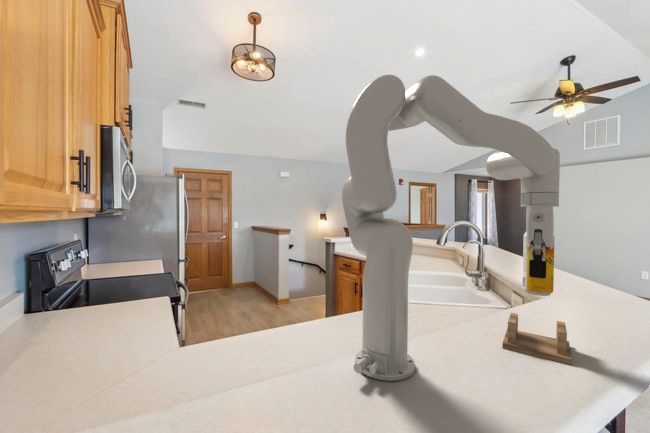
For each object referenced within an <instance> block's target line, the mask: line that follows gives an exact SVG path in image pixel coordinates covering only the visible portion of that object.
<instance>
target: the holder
mask: <svg viewBox="0 0 650 433" xmlns="http://www.w3.org/2000/svg"><path fill="white" fill-rule="evenodd" d="M508 317H509V318H508V321H507V329H506V331H505V335H504V338H503V341H502V346H501V348H502V349H506V350H509V351H513V352H518V353H521V354H525V355H529V356H532V357H533V356H534V357H537V358H543V359H546V360H550V361H554V362H558V363H563V364H566V365H570V366H572V365H573V358H572V352H571V347H570V341H568V331H567V326H566V322H565V321H561V320H560V321H559V320H556V334H555V336H556V338H554V337H550V336H546V335H540V334H535V333H531V332H526V331H521V330H519V314H518V313H515V312H510V315H509V316H508Z"/></svg>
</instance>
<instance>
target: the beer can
mask: <svg viewBox="0 0 650 433" xmlns="http://www.w3.org/2000/svg"><path fill="white" fill-rule="evenodd" d="M522 238H523V240H522V241H523V244H522V245H523V247H522V248H523V249H522V250H523V251H522V289H523V290H524V292H525V293H527V294H530V295H534V296H540V297H549V296H551V294H552V293H554V276H555V273H554V272H555V270H554V269H555V234H553V248H552V249H550V247H546V245H545V261H546V278H545V279H543V278H534V277H530V276H529V260H531V248H529V247H528V245H527V234H526V231H525V232H524V233H523V237H522ZM541 238H542V231H541ZM530 245H531V242H530ZM530 247H531V246H530ZM533 247H534V245H533ZM541 247H543V245H541Z"/></svg>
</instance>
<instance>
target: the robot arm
mask: <svg viewBox="0 0 650 433" xmlns="http://www.w3.org/2000/svg"><path fill="white" fill-rule="evenodd" d="M424 122H426V123H427V124H428V125H429V126H431V127H433V128H435V130H437V131H438V132H439V133H441V134H442V135H443V136H445V137H446V138H447V139H449V141H451V142H452V143H454V145H455V144H456V145H459V146H463V147H464V146H465V147H471V148H486V149H492V150H496V151H495V152H493V153H492V154H490V156H489V157H488V158H487V160H486V161H485V162H486V163H485V170H486V172H487V174H488V175H489V176H490V177H492V178H493V179H495V180H498V181H510V180H518V179H520V207H522V208H523V207H524V208H526V210H525V212H526V213H525V224H526V225H525V229H526V230H525V232H526V234H527V245H528V247H529V248H531V260H529V276H530V277H534V278H543V279H545V278H546V261H545V245H546V247H550V249H552V248H553V235H554V220H555V218H554V217H555V216H554V208H555V207H557V208H558V207H559V208H560V204H559V203H560V176H561V175H560V172H561V171H560V170H561V153H560V151H559V150H558V149H557V148H554V147H553V146H552V145H551V144H550V142H549V141H548V140H547V139H546V138H545V137H544V136H542V135H541V134H540V133H539V132H537V131H536V130H535V129H533V128H532V127H531V126H529V125H527V124H526V123H523V122H520V121H519V120H515V119H511V118H509V117H505V116H502V115H498V114H493V113H490V112H489V113H488V112H486V111H484V110H482V109H481V108H480V107H479V106H478V105H476V104H475V103H473V102H472V101H471V100H469V98H467V97H466V96H465V95H464V94H462V92H460V91H459V90H458V89H456V88H455V87H454V86H452V85H451V84H450V83H449V82H448V81H447V80H445V79H443V78H442V77H441V76H438V75H433V74H431V75H427V76H425V77H422V78H421V79H420V80H418V81H416V82H415V83H414V84H412V85H411V86H410V87H409V88H408V89H406V87H405V85H404V82H403V81H402V80H401V78H399V77H398V76H396V75H394V74H384V75H381V76H378V77H377V78H375V79H373V80H372V81H371V82H370V83H369V84H368V85H367V86H365V88H364V89H363V90H362V91H361V93H360V94H359V95H358V97H357V98H356V100H355V102H354V103H353V105H352V108H351V110H350V113H349V116H348V119H347V122H346V129H345V148H346V154H347V162H348V166H349V167H348V168H349V173H350V177H348V178H347V180H345V183H344V184H343V187H342V191H341V200H342V201H341V202H342V207H343V211H344V215H345V216H344V217H345V219H346V226H347V230H348V232H349V237H350V241H351V244H352V246H353V247H354V250H356V251H357V252H358V254H359V253H360V255H362V256H364V257H365V258H366V259H365V264H364V269H363V273H362V274H363V277H362V349H361V350H359V351H358V352H357V353H356V354H355V358H354V361H355V362H354V364H353V369H354V372H355V373H357V374H364V375H366V376H367V377H369V378H372V379H375V380H378V381H386V382H397V381H402V380H405V379H407V378H409V377H411V376H412V375H413V374H414V373H415V370H416V363H415V360H414V358H412V356H411V355H410V354H408V345H409V344H408V343H409V342H408V340H409V338H408V333H409V332H408V331H409V329H408V327H409V326H408V325H409V324H408V323H409V322H408V321H409V316H408V315H409V274H410V273H409V272H410V266H411V260H412V256H413V250H414V242H413V237H412V233H411V232H410V230H409V229H408V228H407V226H406V225H405V224H403V223H402V222H401V221H399V220H397V219H393V218H385V216H384V212H387V211H388V210H390V209H391V208H392V207H393V206H394V204H395V203H396V200H397V188H396V183H395V182H396V181H395V177H394V173H393V169H392V162H391V159H390V154H389V146H388V137H389V136H388V135H389V132H390V131H391V132H392V131H399V130H404V129H409V128H412V127H416V126H418V125H421V124H422V123H424ZM541 231H542V238H541ZM530 242H531V245H530ZM533 245H534V247H533ZM541 245H543V247H541ZM530 246H531V247H530Z"/></svg>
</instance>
